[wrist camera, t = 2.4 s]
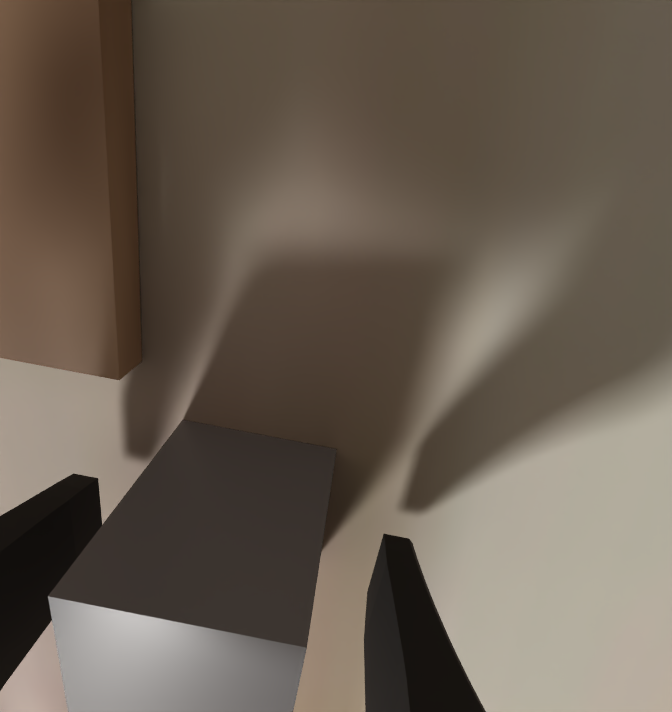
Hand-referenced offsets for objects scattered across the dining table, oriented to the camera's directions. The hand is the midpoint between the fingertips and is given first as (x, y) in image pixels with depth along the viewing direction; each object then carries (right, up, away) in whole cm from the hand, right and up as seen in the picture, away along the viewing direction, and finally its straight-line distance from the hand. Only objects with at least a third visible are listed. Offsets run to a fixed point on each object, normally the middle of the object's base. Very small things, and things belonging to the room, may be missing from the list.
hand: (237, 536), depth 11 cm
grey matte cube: (0, +1, +1) cm, 2 cm away
